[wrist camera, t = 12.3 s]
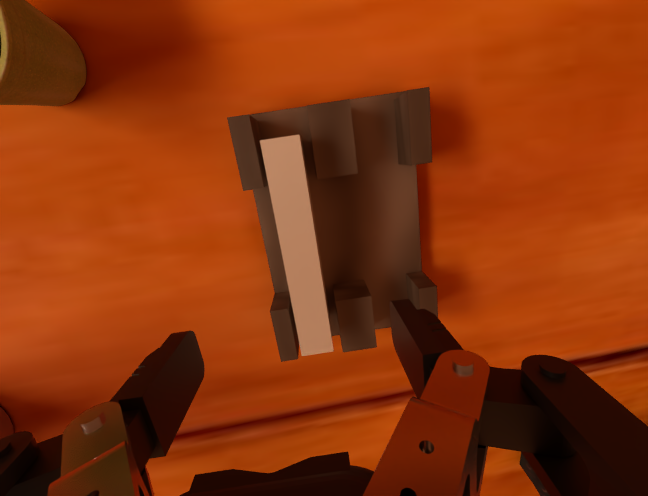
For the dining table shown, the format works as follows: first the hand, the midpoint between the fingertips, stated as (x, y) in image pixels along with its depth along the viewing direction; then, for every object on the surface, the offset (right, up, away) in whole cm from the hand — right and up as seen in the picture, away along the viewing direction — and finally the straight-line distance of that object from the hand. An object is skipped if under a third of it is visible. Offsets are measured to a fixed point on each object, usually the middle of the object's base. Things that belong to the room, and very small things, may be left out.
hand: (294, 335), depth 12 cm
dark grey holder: (+3, +5, +16) cm, 17 cm away
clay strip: (-1, +5, +15) cm, 15 cm away
